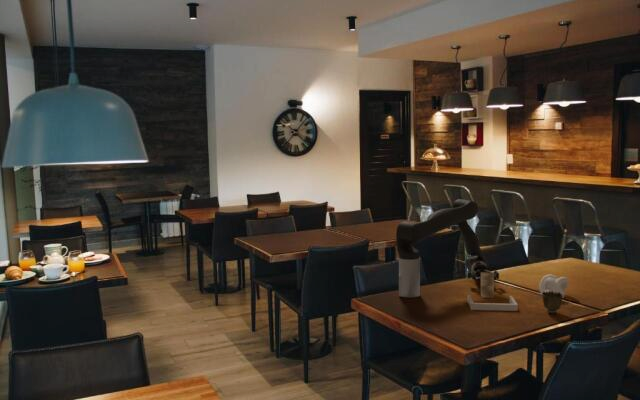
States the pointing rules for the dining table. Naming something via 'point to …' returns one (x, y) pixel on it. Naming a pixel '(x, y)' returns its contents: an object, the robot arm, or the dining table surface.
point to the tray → (493, 305)
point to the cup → (552, 301)
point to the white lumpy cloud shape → (553, 284)
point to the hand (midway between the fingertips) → (484, 278)
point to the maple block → (487, 285)
